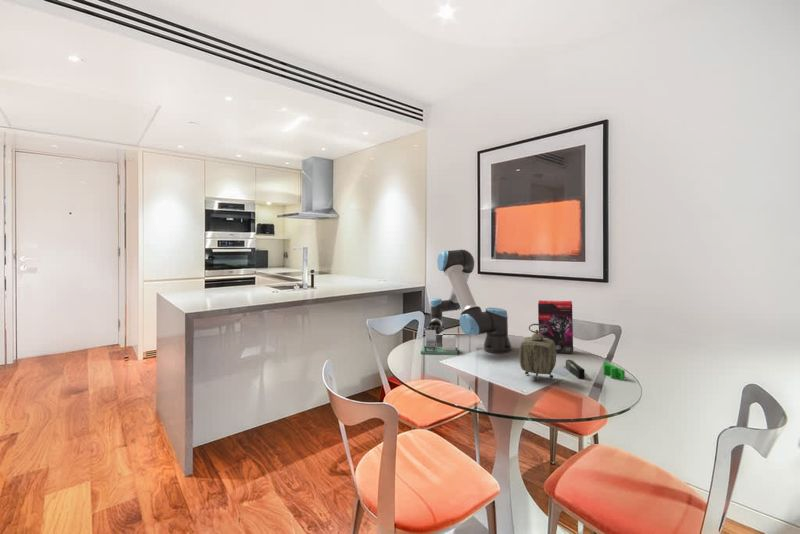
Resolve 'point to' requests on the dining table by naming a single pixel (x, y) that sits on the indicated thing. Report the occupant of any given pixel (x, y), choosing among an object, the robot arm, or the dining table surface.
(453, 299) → the robot arm
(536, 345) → the tabletop clock
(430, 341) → the plate
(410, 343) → the dining table surface
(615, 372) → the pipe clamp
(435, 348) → the heat-sink mount
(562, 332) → the graphics card box
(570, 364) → the mobile phone
